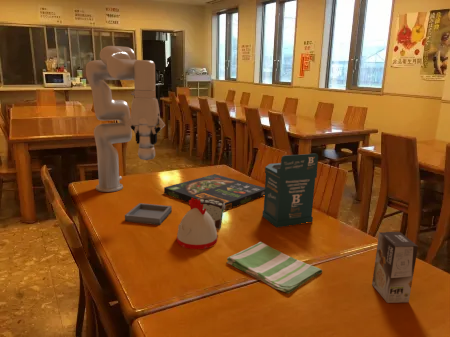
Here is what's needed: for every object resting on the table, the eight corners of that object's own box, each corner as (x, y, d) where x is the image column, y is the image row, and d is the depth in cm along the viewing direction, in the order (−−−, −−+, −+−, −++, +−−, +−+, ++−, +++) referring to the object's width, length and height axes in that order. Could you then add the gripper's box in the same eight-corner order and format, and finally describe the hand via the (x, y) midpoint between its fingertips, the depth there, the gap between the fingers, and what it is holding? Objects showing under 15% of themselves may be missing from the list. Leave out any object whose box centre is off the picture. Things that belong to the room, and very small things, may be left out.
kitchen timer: (199, 228, 140) (199, 190, 136) (225, 241, 130) (226, 200, 126) (168, 239, 130) (168, 198, 126) (194, 253, 121) (195, 209, 117)
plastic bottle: (157, 158, 147) (156, 106, 142) (152, 162, 140) (151, 108, 135) (141, 157, 147) (139, 106, 142) (135, 161, 141) (133, 107, 136)
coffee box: (410, 302, 98) (420, 246, 94) (386, 303, 97) (395, 246, 93) (392, 283, 107) (400, 231, 102) (370, 283, 106) (377, 231, 102)
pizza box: (267, 195, 181) (267, 188, 180) (218, 214, 156) (218, 206, 155) (214, 180, 203) (214, 174, 202) (164, 194, 178) (164, 187, 177)
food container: (230, 224, 144) (230, 199, 142) (223, 230, 139) (224, 204, 136) (201, 218, 149) (202, 194, 147) (194, 223, 144) (194, 199, 141)
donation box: (276, 227, 143) (281, 155, 136) (257, 212, 157) (261, 147, 150) (312, 222, 148) (318, 153, 141) (291, 208, 163) (296, 145, 156)
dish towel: (287, 297, 99) (288, 288, 99) (224, 264, 115) (224, 256, 114) (322, 273, 112) (323, 265, 111) (261, 247, 127) (261, 239, 127)
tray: (139, 208, 157) (139, 203, 157) (171, 211, 155) (171, 206, 154) (125, 221, 144) (124, 215, 143) (159, 224, 142) (159, 218, 141)
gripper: (118, 94, 136) (121, 144, 140) (163, 96, 133) (164, 146, 137) (127, 93, 143) (129, 140, 147) (170, 95, 140) (171, 143, 144)
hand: (146, 143), depth 142 cm, fingers closed on plastic bottle, 5 cm apart
